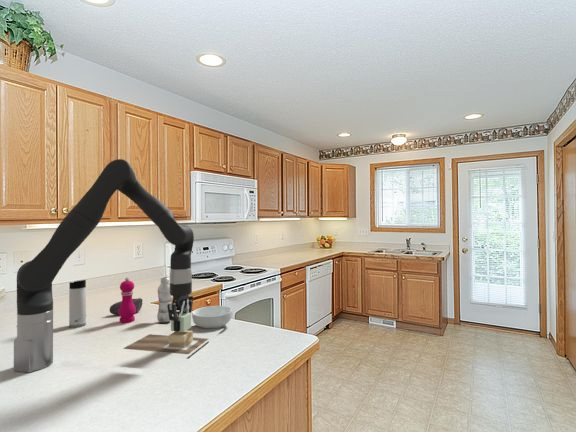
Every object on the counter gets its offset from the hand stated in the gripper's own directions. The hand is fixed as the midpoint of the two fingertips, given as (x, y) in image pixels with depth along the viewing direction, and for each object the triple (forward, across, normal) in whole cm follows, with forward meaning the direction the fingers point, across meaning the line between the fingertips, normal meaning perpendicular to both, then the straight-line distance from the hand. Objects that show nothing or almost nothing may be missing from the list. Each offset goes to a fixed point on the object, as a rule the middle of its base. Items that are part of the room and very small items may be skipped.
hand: (181, 328), depth 122 cm
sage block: (0, 0, 0) cm, 0 cm away
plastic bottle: (+7, -28, -24) cm, 37 cm away
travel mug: (+7, -16, -59) cm, 61 cm away
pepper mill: (+7, -26, -42) cm, 50 cm away
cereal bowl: (+7, -26, 0) cm, 27 cm away
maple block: (+6, 0, 0) cm, 6 cm away
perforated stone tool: (+7, -36, -51) cm, 63 cm away
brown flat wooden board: (+7, 0, -6) cm, 9 cm away
